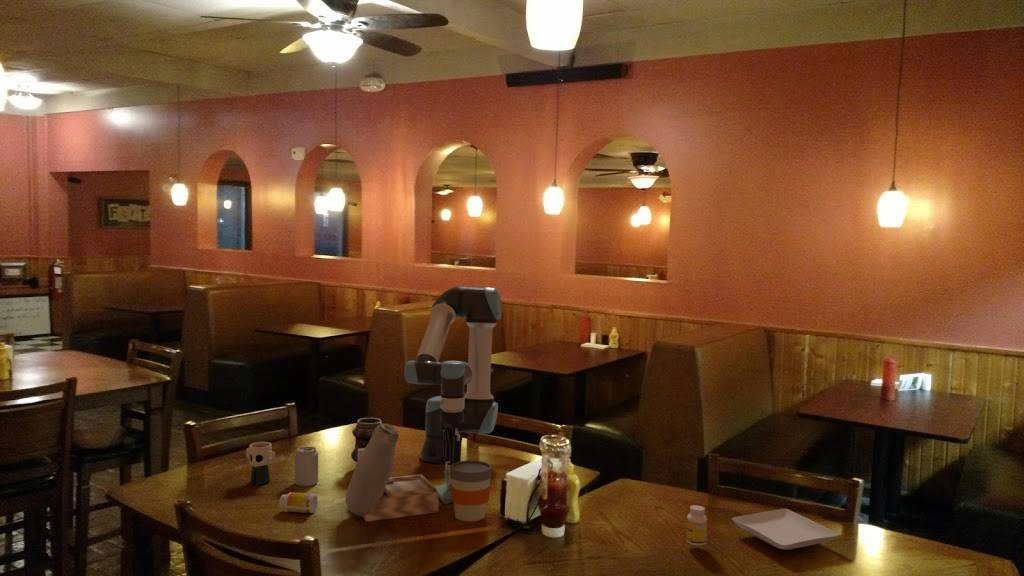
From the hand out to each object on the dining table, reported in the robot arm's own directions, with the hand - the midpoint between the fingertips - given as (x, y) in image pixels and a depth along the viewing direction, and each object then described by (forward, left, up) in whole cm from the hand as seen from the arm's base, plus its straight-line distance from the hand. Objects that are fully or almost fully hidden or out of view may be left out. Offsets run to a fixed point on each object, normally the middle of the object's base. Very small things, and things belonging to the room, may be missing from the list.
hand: (451, 482), depth 237 cm
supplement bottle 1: (+42, 0, -2) cm, 42 cm away
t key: (+26, +3, +1) cm, 26 cm away
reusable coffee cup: (0, +17, -5) cm, 18 cm away
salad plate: (-79, +62, -5) cm, 101 cm away
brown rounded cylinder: (+32, +7, -3) cm, 32 cm away
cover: (-2, 0, -3) cm, 4 cm away
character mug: (+55, -34, -5) cm, 65 cm away
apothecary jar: (+18, -35, -5) cm, 40 cm away
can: (+41, -28, -5) cm, 50 cm away
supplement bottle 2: (-52, +57, -5) cm, 78 cm away
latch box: (+19, +3, -5) cm, 20 cm away
